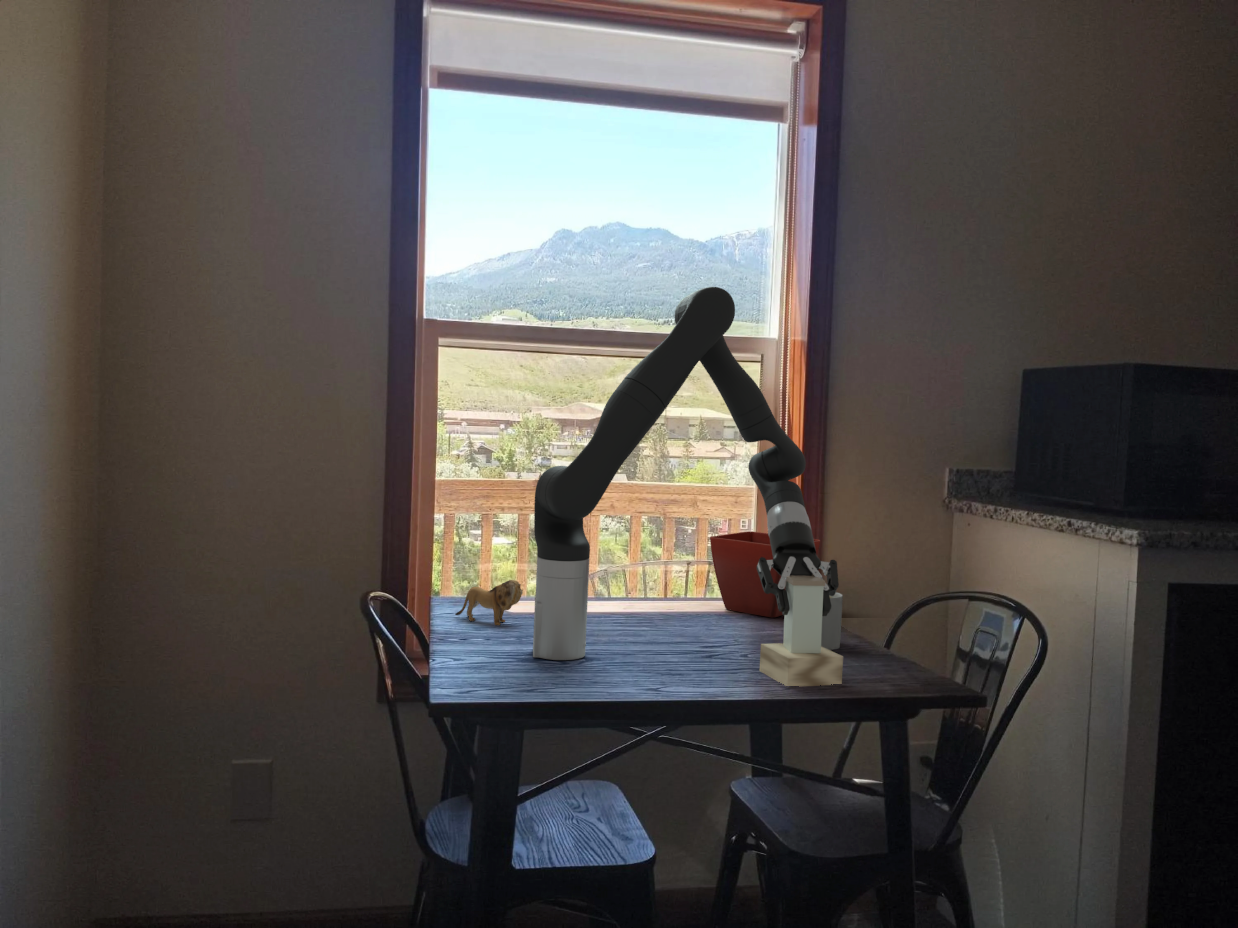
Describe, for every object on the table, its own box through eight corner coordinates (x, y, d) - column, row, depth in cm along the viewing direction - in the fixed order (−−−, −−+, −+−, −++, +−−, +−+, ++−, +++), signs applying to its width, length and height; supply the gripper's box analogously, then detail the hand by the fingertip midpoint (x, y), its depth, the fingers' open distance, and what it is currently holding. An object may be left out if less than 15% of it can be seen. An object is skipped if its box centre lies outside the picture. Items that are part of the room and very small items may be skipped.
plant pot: (779, 623, 204) (783, 545, 203) (704, 609, 215) (708, 536, 215) (818, 611, 219) (822, 539, 218) (746, 599, 231) (749, 531, 230)
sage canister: (790, 653, 156) (793, 580, 155) (781, 645, 161) (784, 574, 161) (822, 653, 156) (825, 581, 156) (812, 645, 162) (815, 575, 161)
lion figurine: (525, 622, 192) (527, 579, 192) (514, 627, 187) (515, 582, 187) (460, 615, 197) (462, 572, 197) (448, 619, 192) (449, 575, 192)
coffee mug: (848, 649, 181) (851, 597, 181) (800, 650, 179) (803, 597, 179) (819, 634, 194) (821, 585, 194) (773, 634, 192) (776, 585, 192)
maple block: (787, 688, 152) (788, 658, 152) (759, 672, 162) (760, 643, 162) (841, 686, 156) (843, 656, 155) (811, 670, 165) (812, 642, 165)
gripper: (754, 518, 164) (768, 598, 153) (835, 521, 166) (854, 601, 154) (746, 544, 170) (758, 624, 159) (824, 547, 171) (842, 626, 160)
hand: (806, 612), depth 157 cm, fingers open, 6 cm apart
